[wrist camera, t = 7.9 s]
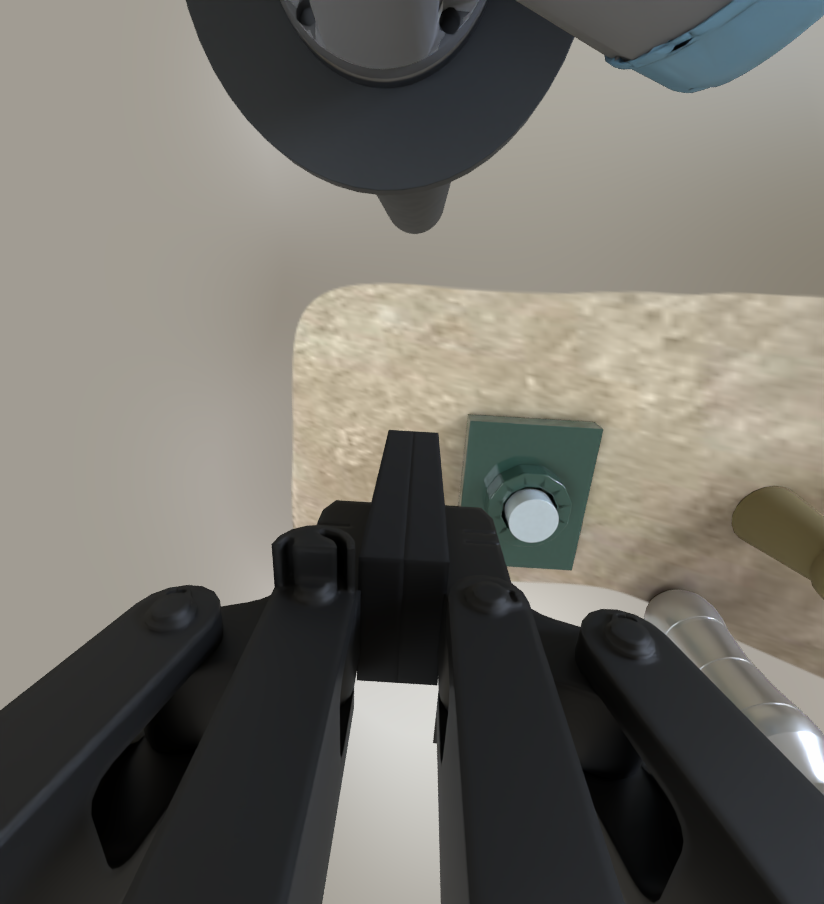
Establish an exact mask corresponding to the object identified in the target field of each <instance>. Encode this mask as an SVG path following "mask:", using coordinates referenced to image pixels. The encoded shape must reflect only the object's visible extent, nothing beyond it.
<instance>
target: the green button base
mask: <svg viewBox="0 0 824 904" xmlns="http://www.w3.org/2000/svg"><path fill="white" fill-rule="evenodd" d="M602 433H603V429H602V428H601V427H600V426H599V425H598V424H596V423H595V422H587V421H570V420H554V419H537V418H521V417H504V416H487V415H471V414H468V419H467V428H466V438H465V447H464V457H463V466H462V476H461V485H460V495H459V504H458V506H462V507H478V508H482V509H483V510H484V511H485V512H486V513H487V514H488V515H489V516H490V517H491V518H492V519H493V521H494V524H495V528H496V531H497V535H498V538H499V542H500V545H501V549H502V552H503V556H504V559H505V563H506V566H510V567H526V568H542V569H558V570H572V567H573V562H574V558H575V553H576V549H577V544H578V540H579V535H580V531H581V526H582V522H583V518H584V513H585V509H586V504H587V500H588V495H589V491H590V486H591V482H592V477H593V473H594V468H595V464H596V459H597V455H598V451H599V446H600V442H601V437H602ZM527 488H533V489H538V490H541V491H543V492H544V493H546V494H547V495H548V497H549V498H550V500H551V501H552V503H553V505H554V507H555V508H556V510H557V512H558V516H559V522H558V526H557V528H556V530H555V531H554V533H553V534H552V535H551V536H550V537H548V538H547V539H545V540H543V541H540V542H534V543H529V542H524V541H521V540H519V539H518V538H516V537H515V536H514V535H513V534H512V533H511V531H510V528H509V525H508V523H507V520H506V517H505V505H506V502H507V501H508V499H509V498H510V497H511V496H512V495H513V494H514V493H516V492H517V491H519V490H522V489H527Z"/></svg>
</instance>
